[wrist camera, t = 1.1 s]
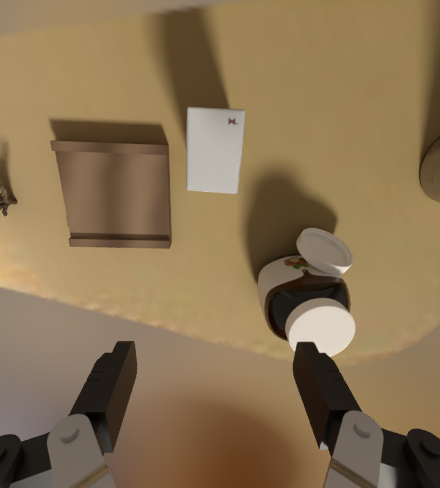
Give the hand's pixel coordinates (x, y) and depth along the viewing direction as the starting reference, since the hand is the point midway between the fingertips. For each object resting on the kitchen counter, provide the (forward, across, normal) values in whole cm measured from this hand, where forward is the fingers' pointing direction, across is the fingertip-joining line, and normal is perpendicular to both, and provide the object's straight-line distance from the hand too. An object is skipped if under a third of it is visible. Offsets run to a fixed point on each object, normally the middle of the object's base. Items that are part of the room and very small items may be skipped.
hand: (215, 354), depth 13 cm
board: (+22, +11, -3) cm, 25 cm away
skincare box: (+23, 0, -9) cm, 24 cm away
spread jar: (+23, -12, +6) cm, 26 cm away
